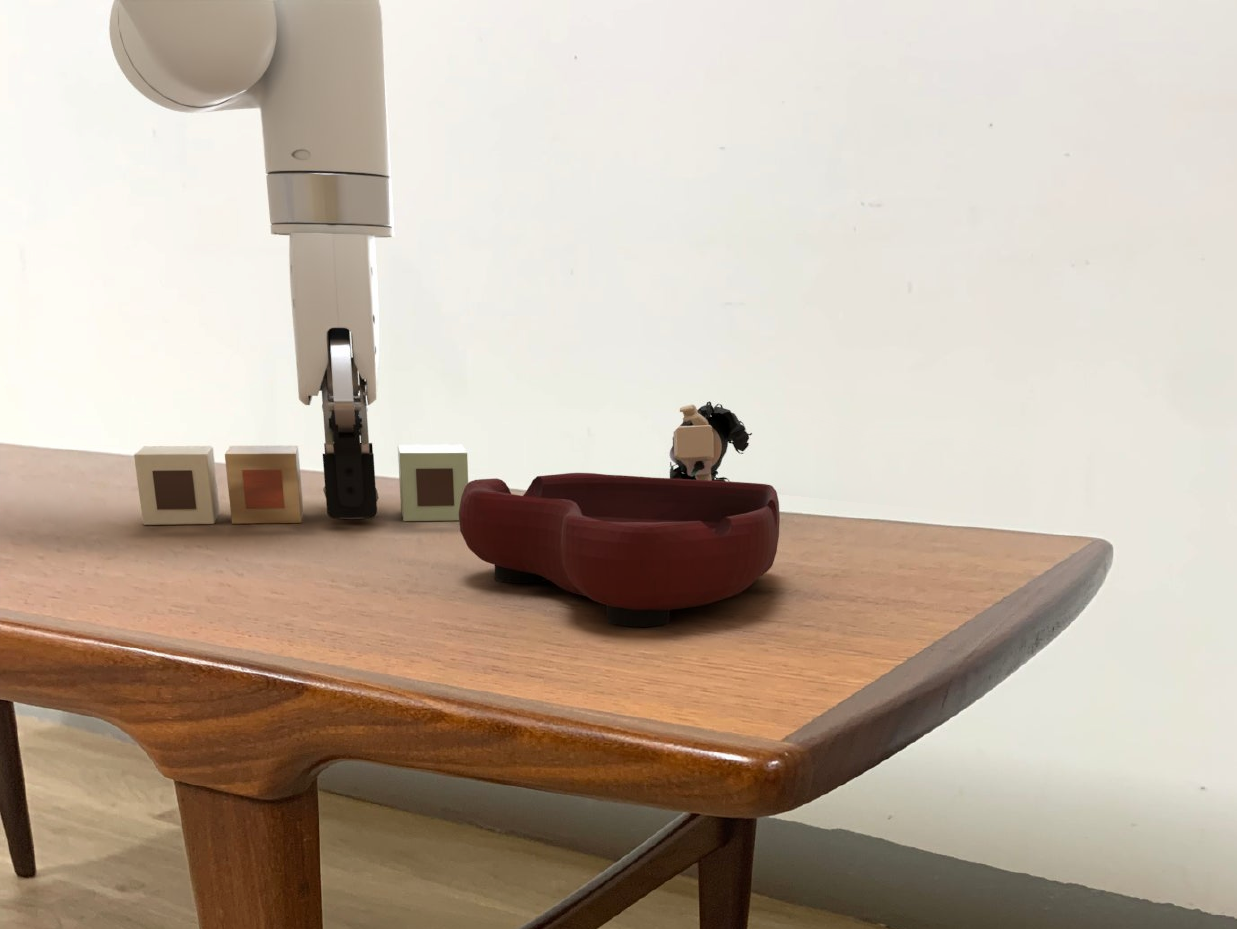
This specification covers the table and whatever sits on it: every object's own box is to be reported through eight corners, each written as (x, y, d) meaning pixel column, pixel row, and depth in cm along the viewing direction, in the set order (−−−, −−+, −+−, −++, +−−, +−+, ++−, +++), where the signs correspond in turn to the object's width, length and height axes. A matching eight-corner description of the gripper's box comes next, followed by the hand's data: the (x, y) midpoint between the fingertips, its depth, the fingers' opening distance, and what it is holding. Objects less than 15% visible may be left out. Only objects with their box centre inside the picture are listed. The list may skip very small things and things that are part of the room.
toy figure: (664, 522, 91) (672, 491, 105) (756, 517, 91) (752, 487, 104) (658, 412, 88) (667, 395, 102) (753, 406, 88) (749, 390, 102)
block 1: (142, 525, 85) (133, 454, 84) (152, 514, 89) (143, 446, 88) (214, 524, 86) (206, 454, 85) (220, 513, 90) (213, 445, 89)
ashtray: (879, 603, 69) (888, 504, 67) (615, 644, 60) (616, 531, 58) (677, 547, 82) (679, 463, 80) (437, 573, 73) (432, 480, 71)
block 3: (403, 521, 89) (399, 452, 87) (401, 510, 93) (397, 445, 91) (469, 520, 89) (467, 452, 88) (464, 510, 93) (462, 444, 92)
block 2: (231, 524, 87) (224, 454, 85) (237, 513, 91) (230, 445, 89) (301, 523, 87) (295, 453, 86) (303, 512, 91) (297, 445, 90)
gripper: (275, 214, 89) (299, 492, 97) (260, 202, 74) (290, 533, 82) (389, 217, 91) (404, 490, 98) (397, 206, 76) (414, 531, 83)
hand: (352, 507), depth 90 cm, fingers open, 5 cm apart
